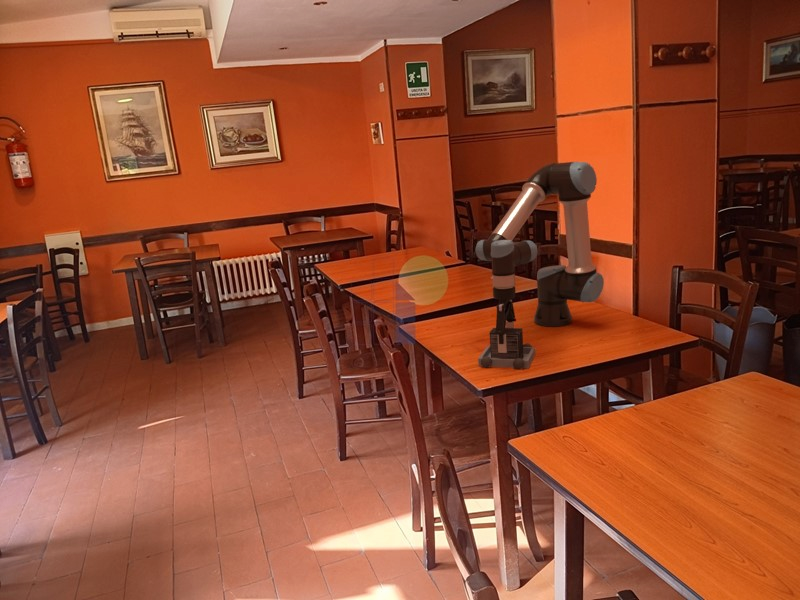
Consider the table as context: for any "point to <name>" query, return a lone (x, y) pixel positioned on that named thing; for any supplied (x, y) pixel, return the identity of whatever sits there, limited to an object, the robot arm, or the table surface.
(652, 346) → the table surface
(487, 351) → the chassis bay
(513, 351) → the small box
